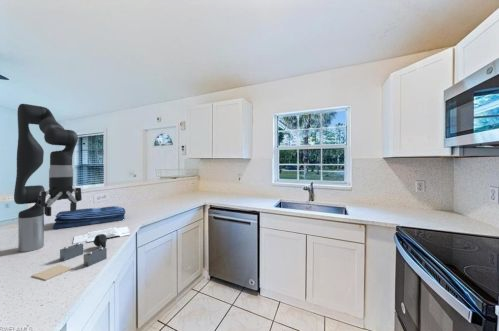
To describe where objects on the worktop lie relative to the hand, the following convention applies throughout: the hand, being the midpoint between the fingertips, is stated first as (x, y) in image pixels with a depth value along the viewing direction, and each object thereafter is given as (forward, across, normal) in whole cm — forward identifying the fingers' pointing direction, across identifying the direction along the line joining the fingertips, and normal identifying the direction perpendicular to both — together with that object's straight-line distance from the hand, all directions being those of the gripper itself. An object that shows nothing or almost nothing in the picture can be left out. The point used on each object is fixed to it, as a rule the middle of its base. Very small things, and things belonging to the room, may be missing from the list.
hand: (61, 213), depth 87 cm
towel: (+25, -53, -62) cm, 86 cm away
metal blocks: (+24, -8, +1) cm, 25 cm away
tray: (+25, -34, -24) cm, 49 cm away
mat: (+23, +4, +2) cm, 24 cm away
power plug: (+26, -18, 0) cm, 32 cm away
